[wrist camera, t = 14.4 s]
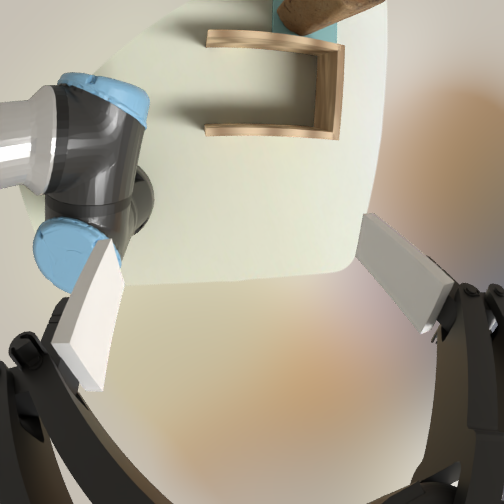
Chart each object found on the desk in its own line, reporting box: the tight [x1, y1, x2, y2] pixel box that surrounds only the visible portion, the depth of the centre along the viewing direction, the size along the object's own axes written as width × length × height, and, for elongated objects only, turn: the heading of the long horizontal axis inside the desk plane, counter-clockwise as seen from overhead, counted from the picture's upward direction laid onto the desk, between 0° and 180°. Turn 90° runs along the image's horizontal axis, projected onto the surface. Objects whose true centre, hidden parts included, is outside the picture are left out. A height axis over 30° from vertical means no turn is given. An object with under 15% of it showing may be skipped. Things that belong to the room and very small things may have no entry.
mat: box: [272, 0, 337, 44], centre depth 34 cm, size 12×12×1 cm
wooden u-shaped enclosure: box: [204, 30, 345, 140], centre depth 37 cm, size 21×16×8 cm
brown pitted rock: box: [277, 0, 385, 36], centre depth 25 cm, size 11×8×20 cm
